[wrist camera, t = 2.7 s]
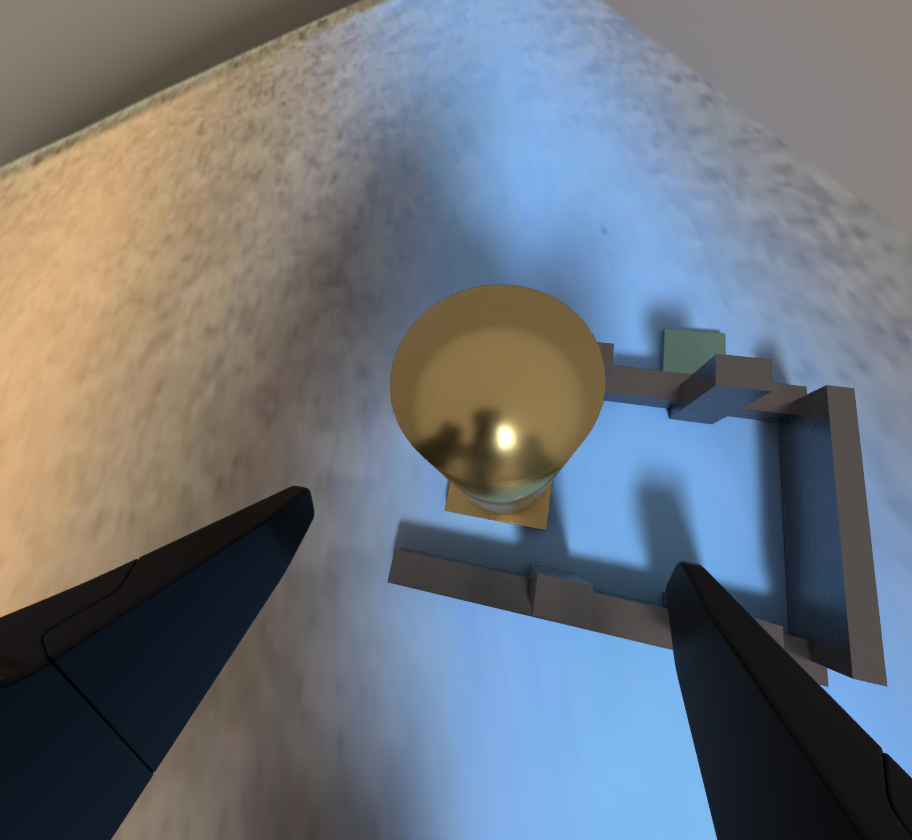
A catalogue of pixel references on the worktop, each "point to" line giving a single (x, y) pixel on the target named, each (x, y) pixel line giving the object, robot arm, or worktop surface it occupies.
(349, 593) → the worktop surface
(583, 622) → the frame
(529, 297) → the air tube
